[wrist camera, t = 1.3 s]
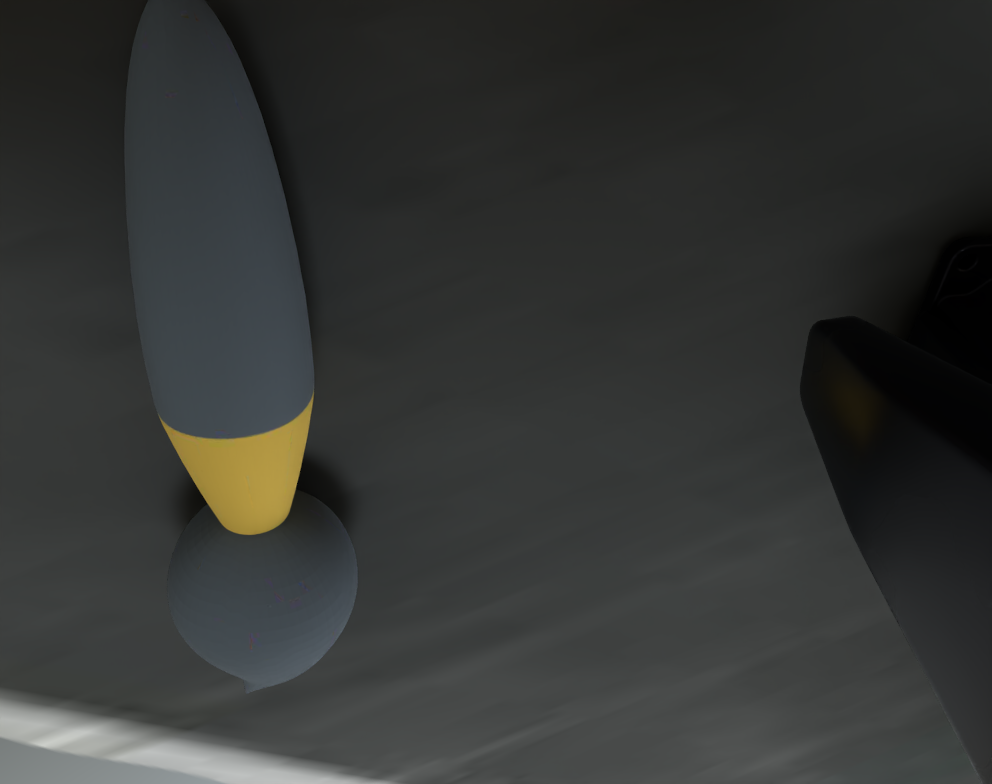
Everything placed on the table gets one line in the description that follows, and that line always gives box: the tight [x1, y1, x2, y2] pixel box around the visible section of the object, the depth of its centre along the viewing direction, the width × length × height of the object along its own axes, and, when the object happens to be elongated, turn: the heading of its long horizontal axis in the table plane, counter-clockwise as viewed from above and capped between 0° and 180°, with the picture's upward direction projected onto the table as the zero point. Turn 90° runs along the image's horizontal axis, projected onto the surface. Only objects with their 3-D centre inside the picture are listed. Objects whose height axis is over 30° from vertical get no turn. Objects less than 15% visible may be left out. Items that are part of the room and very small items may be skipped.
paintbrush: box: [124, 0, 358, 694], centre depth 22 cm, size 20×5×5 cm, turn 2°
